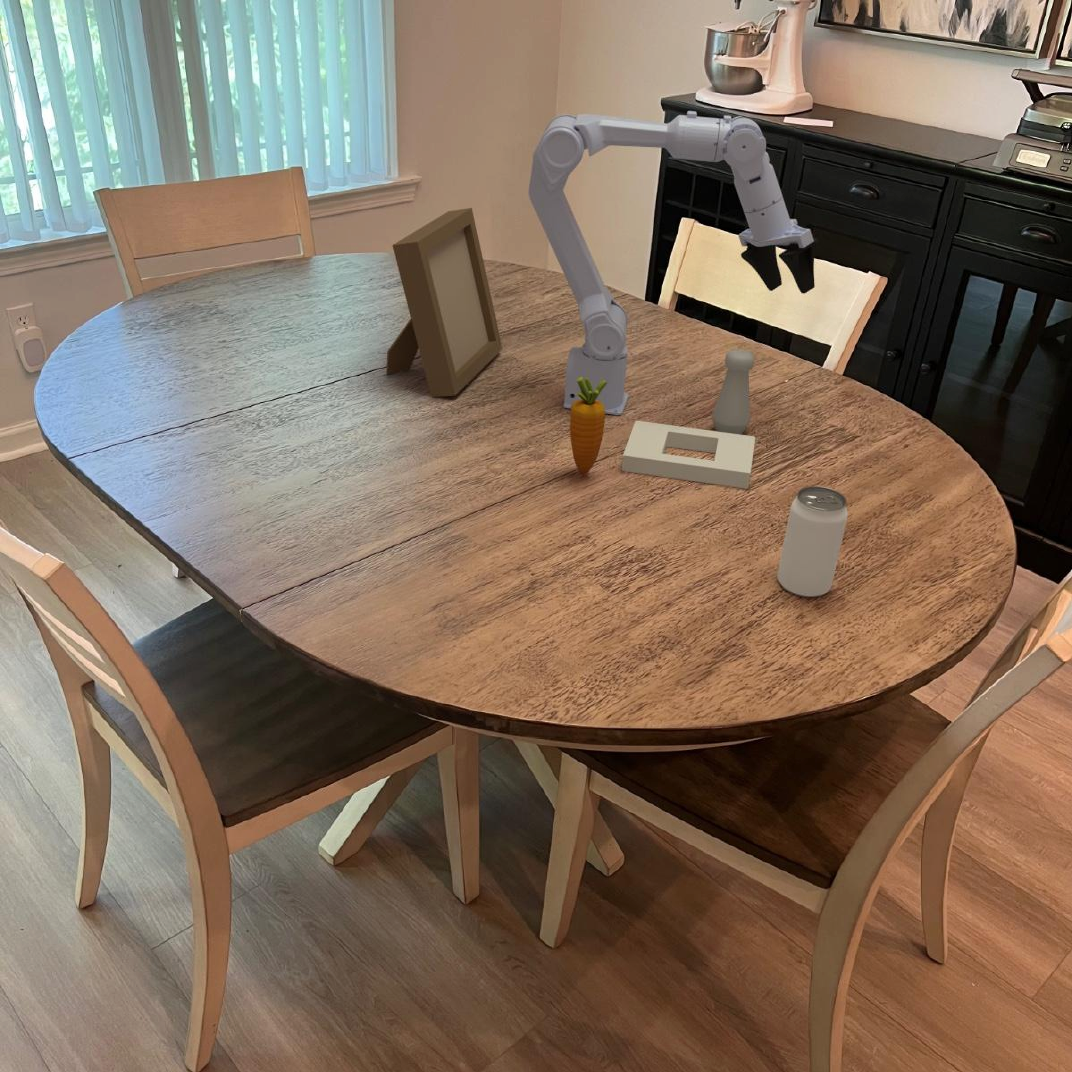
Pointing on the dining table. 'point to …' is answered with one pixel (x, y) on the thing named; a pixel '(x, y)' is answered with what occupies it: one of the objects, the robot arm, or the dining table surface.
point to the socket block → (724, 470)
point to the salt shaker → (734, 394)
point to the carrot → (587, 425)
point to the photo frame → (445, 304)
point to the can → (812, 541)
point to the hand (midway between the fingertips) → (791, 289)
